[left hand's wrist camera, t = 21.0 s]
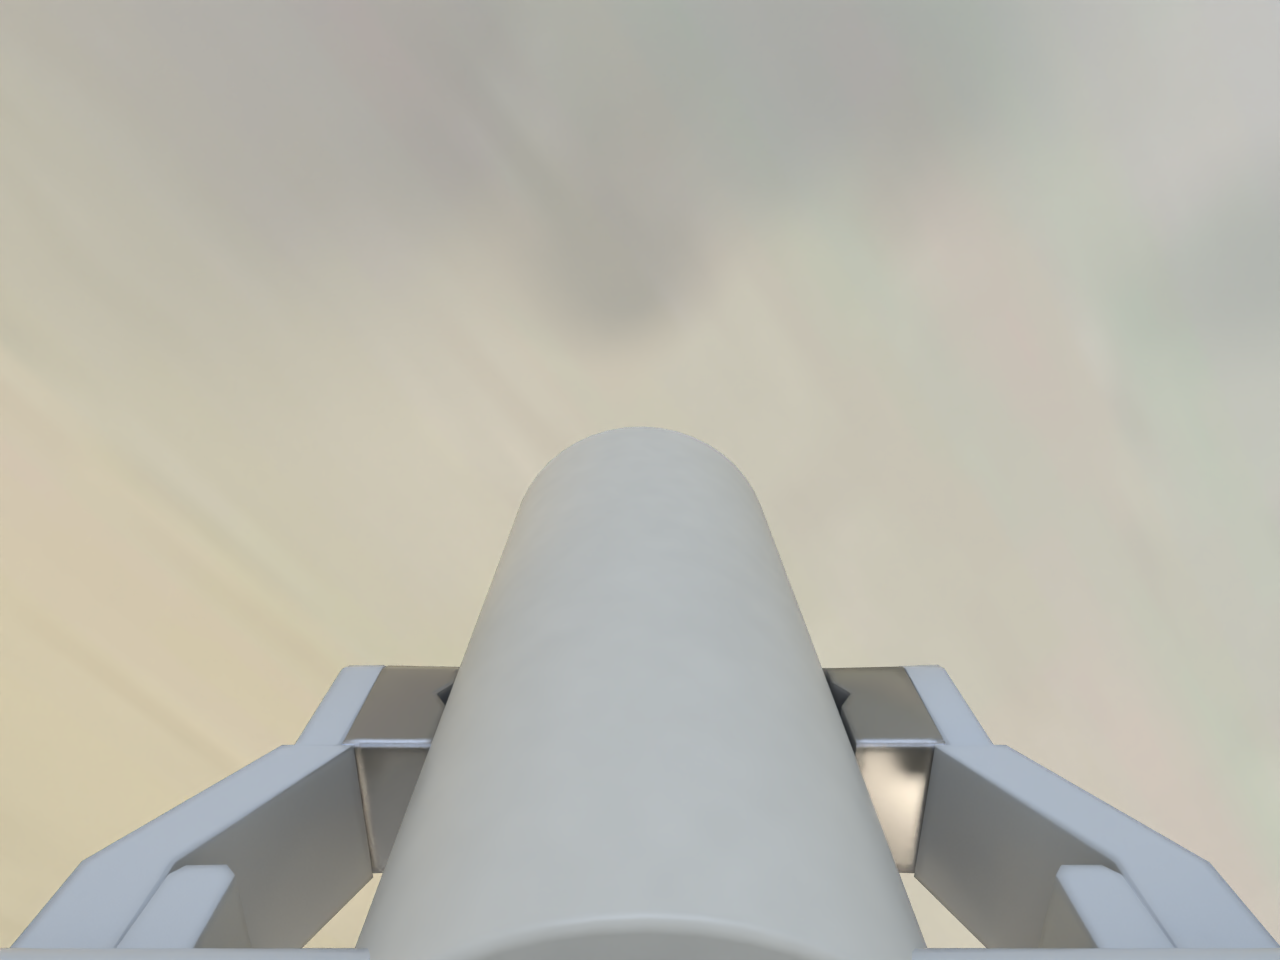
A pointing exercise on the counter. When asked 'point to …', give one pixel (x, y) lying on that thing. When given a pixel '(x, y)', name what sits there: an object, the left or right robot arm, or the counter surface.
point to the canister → (640, 743)
